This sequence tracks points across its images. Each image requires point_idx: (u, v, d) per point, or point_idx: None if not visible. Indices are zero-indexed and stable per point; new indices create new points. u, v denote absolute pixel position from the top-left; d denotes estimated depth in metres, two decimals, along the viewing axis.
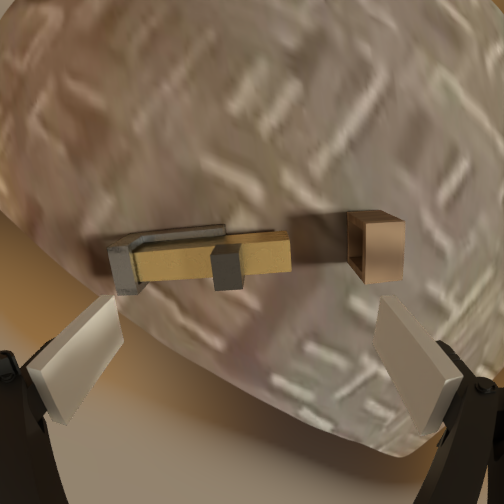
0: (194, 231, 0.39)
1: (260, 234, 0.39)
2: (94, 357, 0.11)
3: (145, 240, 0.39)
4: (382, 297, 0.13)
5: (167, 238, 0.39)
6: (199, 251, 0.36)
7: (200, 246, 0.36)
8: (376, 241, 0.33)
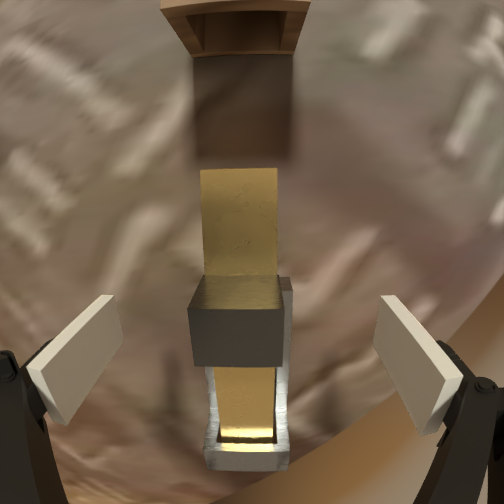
0: None
1: None
2: (94, 357, 0.11)
3: None
4: (382, 297, 0.13)
5: None
6: None
7: None
8: None
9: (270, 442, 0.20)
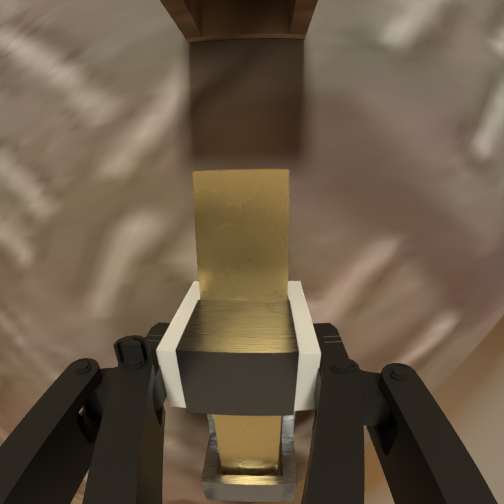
0: None
1: None
2: None
3: None
4: None
5: None
6: None
7: None
8: None
9: (275, 473, 0.17)
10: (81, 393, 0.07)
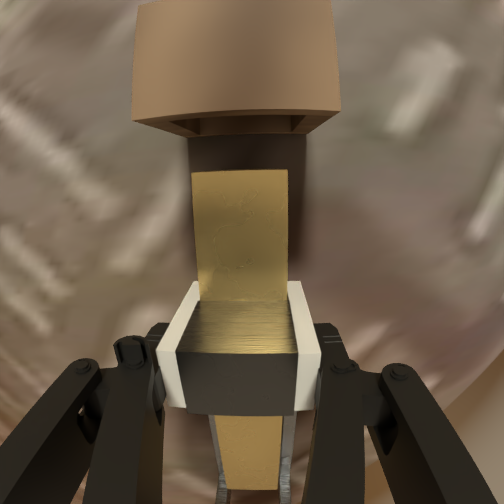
0: (211, 426, 0.20)
1: None
2: None
3: None
4: None
5: None
6: None
7: None
8: (189, 79, 0.09)
9: (277, 473, 0.17)
10: (81, 393, 0.07)
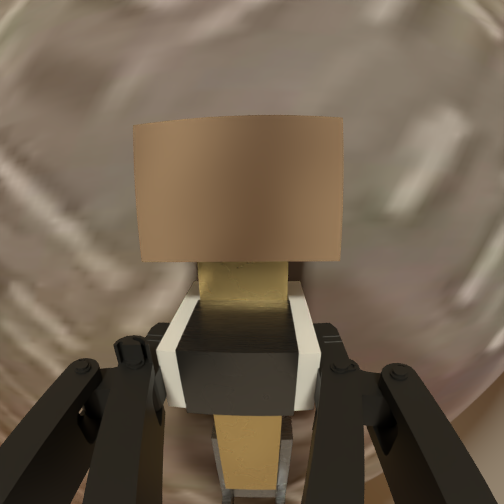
0: (217, 461, 0.22)
1: None
2: None
3: (228, 495, 0.24)
4: None
5: None
6: None
7: None
8: (194, 227, 0.10)
9: (275, 473, 0.17)
10: (81, 393, 0.07)
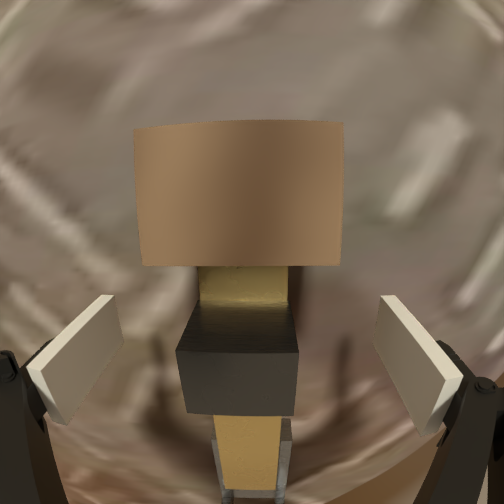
0: (216, 462, 0.22)
1: None
2: (94, 357, 0.11)
3: (228, 495, 0.24)
4: (382, 297, 0.13)
5: None
6: None
7: None
8: (195, 231, 0.10)
9: (275, 473, 0.17)
10: None
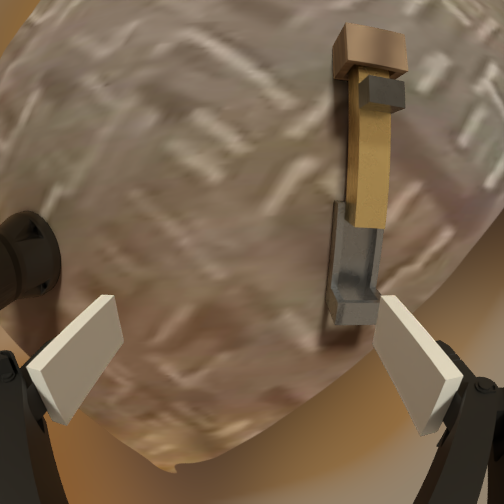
0: (337, 232, 0.37)
1: (350, 76, 0.32)
2: (94, 357, 0.11)
3: (335, 284, 0.39)
4: (382, 297, 0.13)
5: (338, 261, 0.38)
6: (364, 126, 0.30)
7: (359, 124, 0.30)
8: (366, 52, 0.26)
9: (386, 206, 0.32)
10: None
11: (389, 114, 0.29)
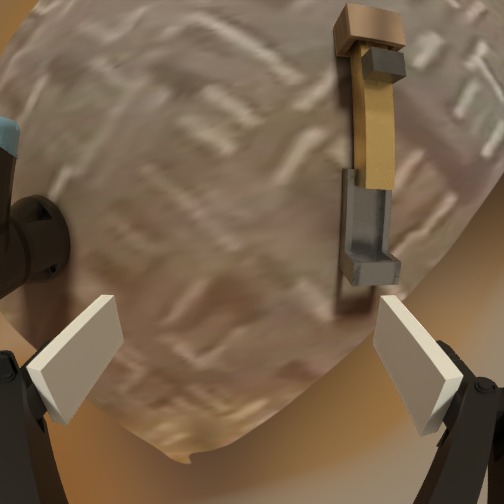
0: (348, 196, 0.38)
1: (351, 52, 0.33)
2: (94, 357, 0.11)
3: (349, 248, 0.40)
4: (382, 297, 0.13)
5: (351, 225, 0.39)
6: (368, 95, 0.31)
7: (363, 93, 0.31)
8: (367, 29, 0.27)
9: (393, 168, 0.33)
10: None
11: (391, 84, 0.30)
